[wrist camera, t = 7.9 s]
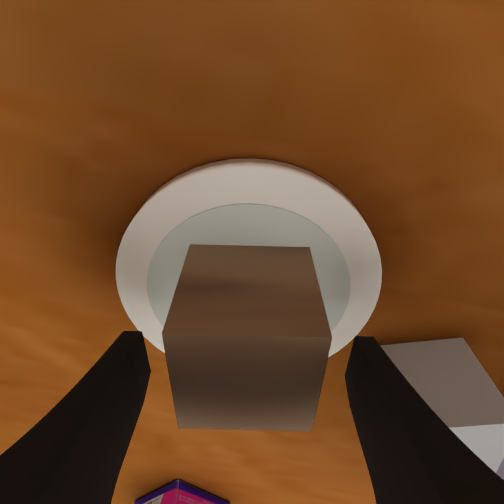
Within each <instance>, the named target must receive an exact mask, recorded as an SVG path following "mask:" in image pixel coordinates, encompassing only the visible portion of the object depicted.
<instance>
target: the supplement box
mask: <svg viewBox="0 0 504 504" xmlns="http://www.w3.org/2000/svg"><path fill="white" fill-rule="evenodd" d="M134 504H230V503H229V502H228V501H225V500H223V499H221V498H219V497H216V496H214V495H212V494H209V493H207V492H205V491H203V490H200V489H198V488H196V487H194V486H192V485H189V484H187V483H185V482H183V481H181V480H176V481H174V482H172V483H170V484H168V485H166V486H164V487H162V488H160V489H158V490H156V491H155V492H152V493H151V494H149V495H147V496H145V497H143V498H141V499H139V500H137V501H135V502H134Z"/></svg>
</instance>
